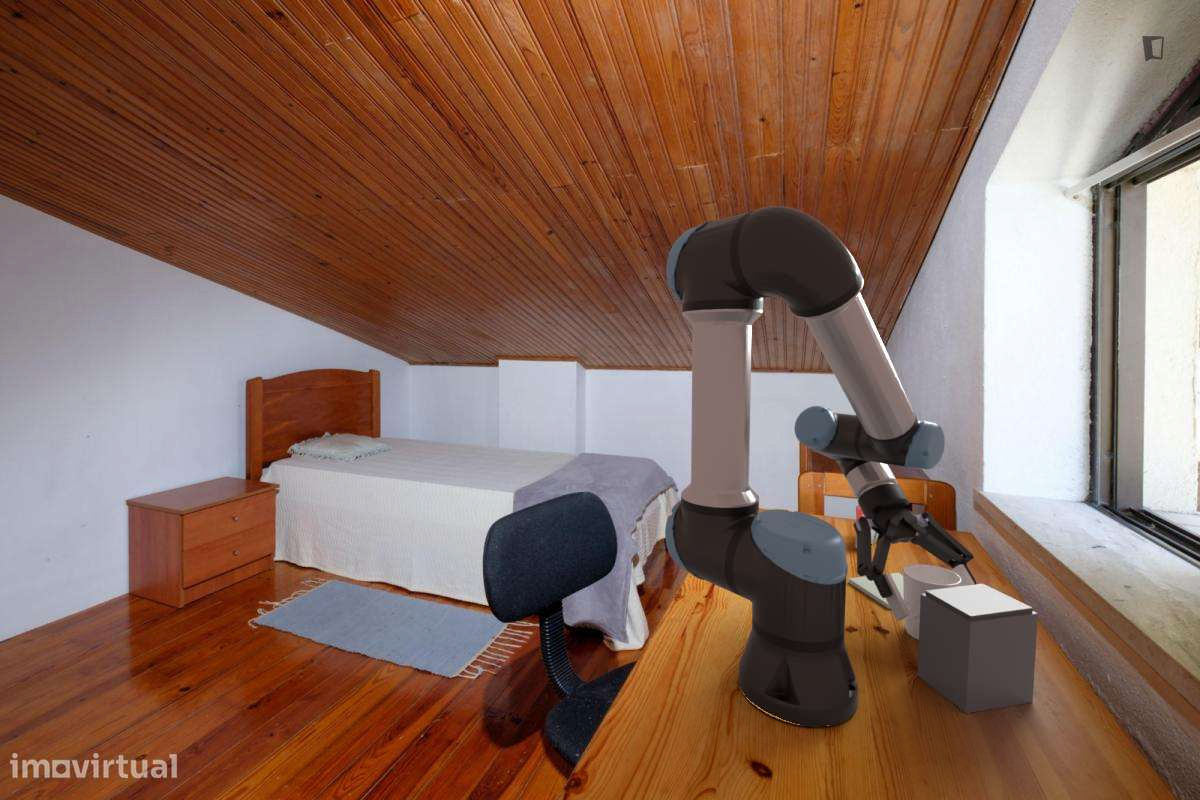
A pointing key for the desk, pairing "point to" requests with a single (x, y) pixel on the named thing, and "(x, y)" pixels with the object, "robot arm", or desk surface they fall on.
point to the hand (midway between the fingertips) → (942, 612)
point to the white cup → (923, 589)
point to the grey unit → (977, 647)
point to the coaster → (872, 590)
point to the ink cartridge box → (873, 533)
